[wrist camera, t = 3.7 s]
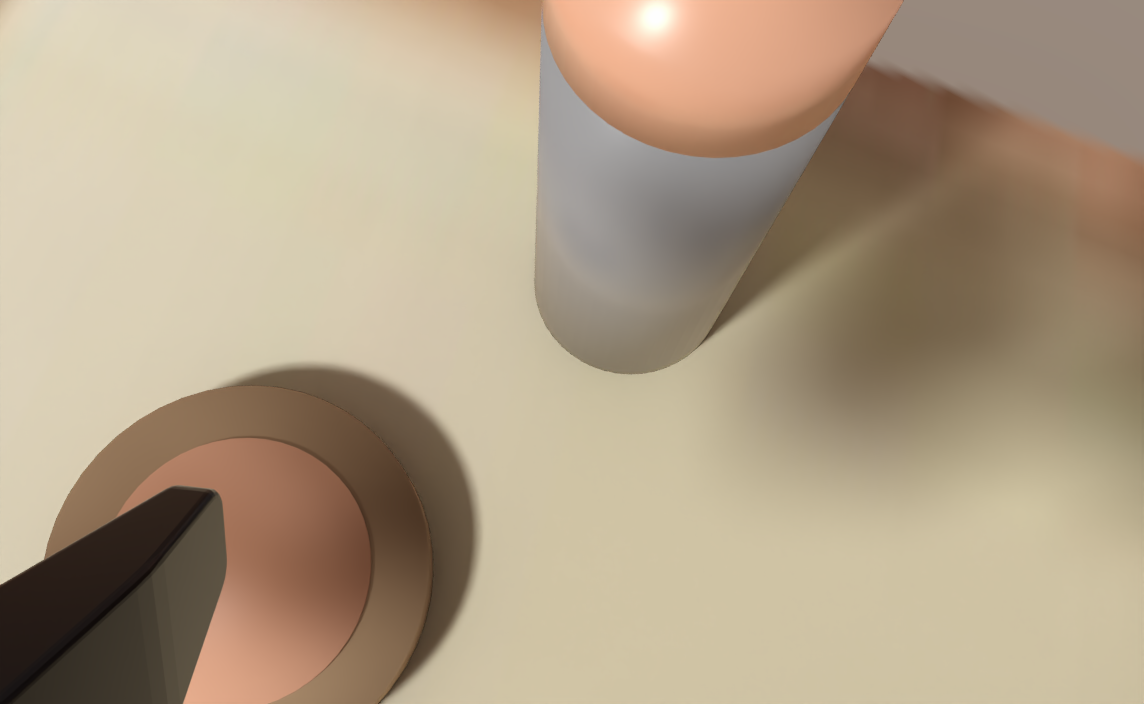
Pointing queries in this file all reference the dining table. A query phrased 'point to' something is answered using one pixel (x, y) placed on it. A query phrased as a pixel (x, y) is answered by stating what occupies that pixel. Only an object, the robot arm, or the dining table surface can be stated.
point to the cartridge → (676, 156)
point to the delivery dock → (281, 541)
